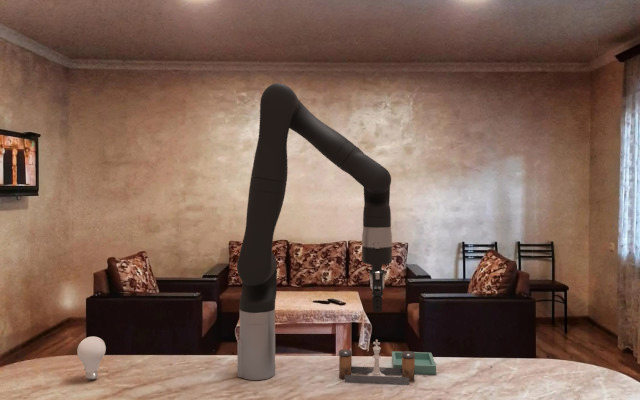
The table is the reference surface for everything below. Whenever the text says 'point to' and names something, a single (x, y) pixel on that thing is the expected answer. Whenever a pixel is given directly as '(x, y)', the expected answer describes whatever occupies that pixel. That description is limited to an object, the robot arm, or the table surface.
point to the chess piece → (376, 360)
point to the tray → (417, 362)
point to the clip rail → (405, 371)
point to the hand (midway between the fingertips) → (377, 307)
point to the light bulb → (91, 355)
